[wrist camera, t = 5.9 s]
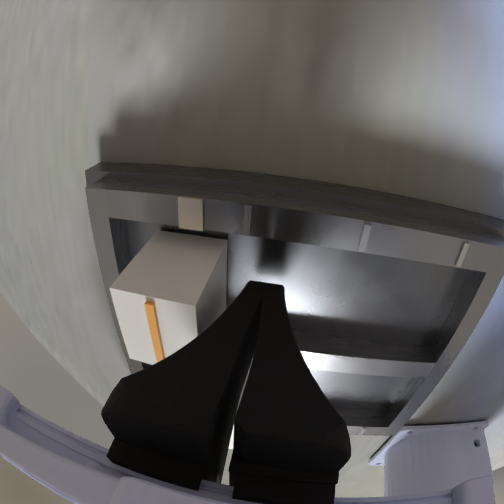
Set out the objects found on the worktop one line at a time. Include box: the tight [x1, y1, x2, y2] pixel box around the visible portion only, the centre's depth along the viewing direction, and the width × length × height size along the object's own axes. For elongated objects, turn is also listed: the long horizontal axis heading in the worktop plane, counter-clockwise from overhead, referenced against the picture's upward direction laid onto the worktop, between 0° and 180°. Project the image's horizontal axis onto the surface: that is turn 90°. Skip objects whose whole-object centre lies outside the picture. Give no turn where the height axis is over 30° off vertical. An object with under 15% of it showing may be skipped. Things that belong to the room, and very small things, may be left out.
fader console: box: [85, 163, 504, 436], centre depth 15 cm, size 19×15×2 cm
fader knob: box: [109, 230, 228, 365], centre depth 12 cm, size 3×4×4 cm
